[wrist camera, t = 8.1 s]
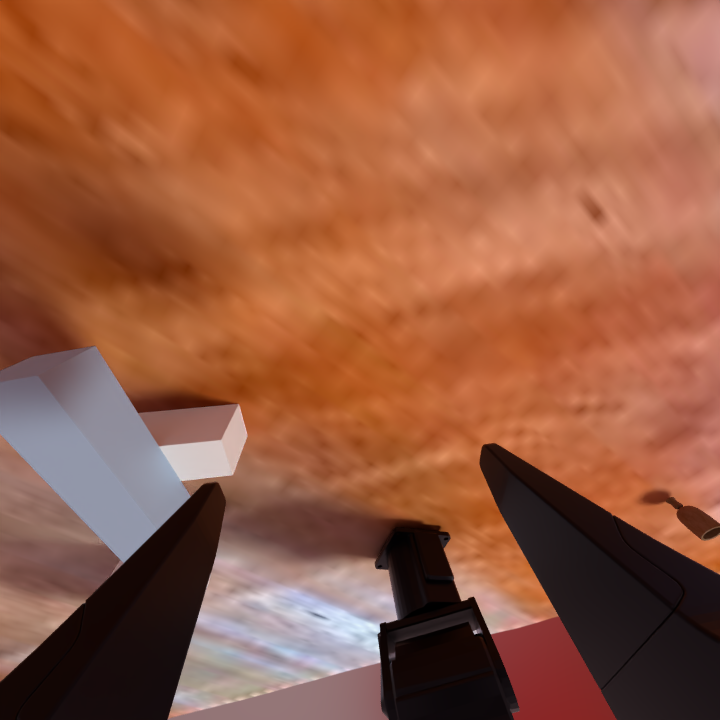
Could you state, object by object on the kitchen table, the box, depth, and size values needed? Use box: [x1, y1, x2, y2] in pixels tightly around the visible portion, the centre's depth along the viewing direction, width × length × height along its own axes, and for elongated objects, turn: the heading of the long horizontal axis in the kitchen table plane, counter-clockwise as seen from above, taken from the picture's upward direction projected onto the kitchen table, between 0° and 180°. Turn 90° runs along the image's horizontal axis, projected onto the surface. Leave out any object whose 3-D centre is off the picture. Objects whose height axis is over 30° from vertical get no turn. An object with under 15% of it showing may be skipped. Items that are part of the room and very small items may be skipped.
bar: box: [0, 346, 191, 563], centre depth 16 cm, size 16×3×3 cm, turn 8°
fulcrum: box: [138, 404, 248, 481], centre depth 19 cm, size 11×12×5 cm
